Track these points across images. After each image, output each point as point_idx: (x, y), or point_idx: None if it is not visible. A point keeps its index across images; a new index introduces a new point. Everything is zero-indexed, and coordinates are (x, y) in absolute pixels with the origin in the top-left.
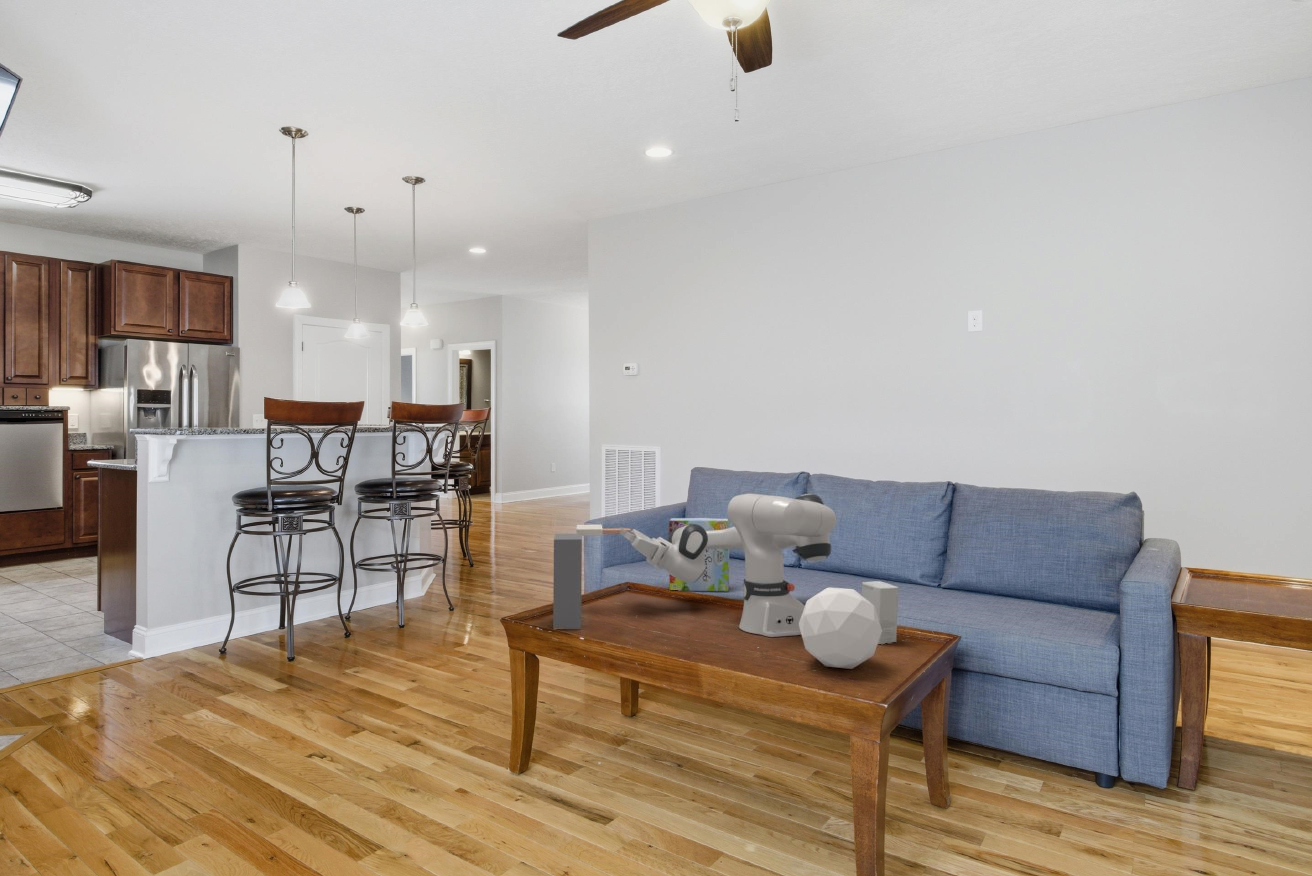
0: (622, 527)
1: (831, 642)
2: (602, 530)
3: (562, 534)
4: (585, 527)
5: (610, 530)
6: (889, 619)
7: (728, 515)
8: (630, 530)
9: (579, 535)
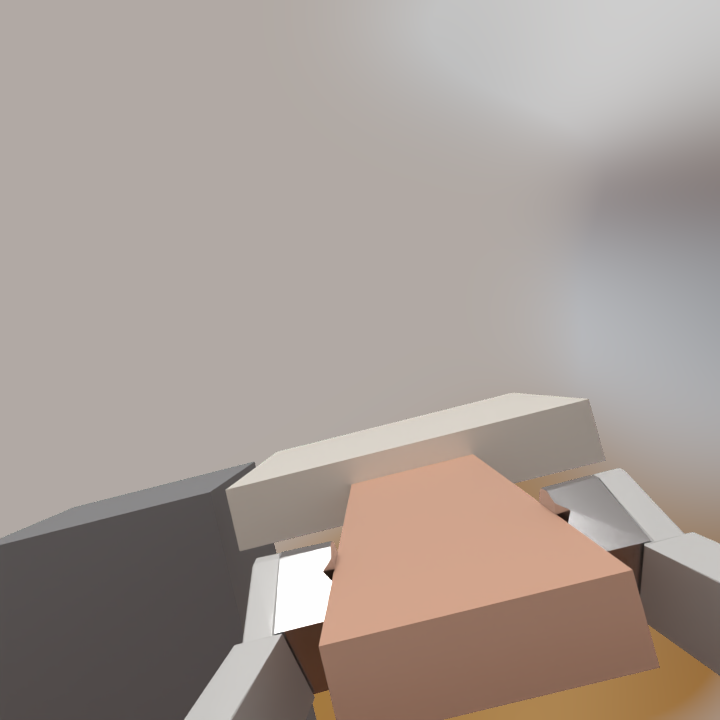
0: (547, 497)
1: None
2: (228, 500)
3: (219, 474)
4: (365, 435)
5: (349, 510)
6: None
7: None
8: (320, 653)
9: (136, 508)
